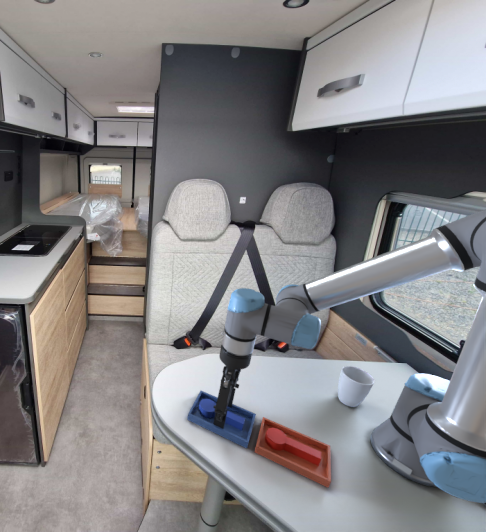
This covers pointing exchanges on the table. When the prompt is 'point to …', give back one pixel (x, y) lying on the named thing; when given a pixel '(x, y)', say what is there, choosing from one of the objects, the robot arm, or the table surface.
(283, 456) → the red tray
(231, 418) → the blue spoon
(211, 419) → the blue tray
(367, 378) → the cup
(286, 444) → the red spoon
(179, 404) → the table surface
